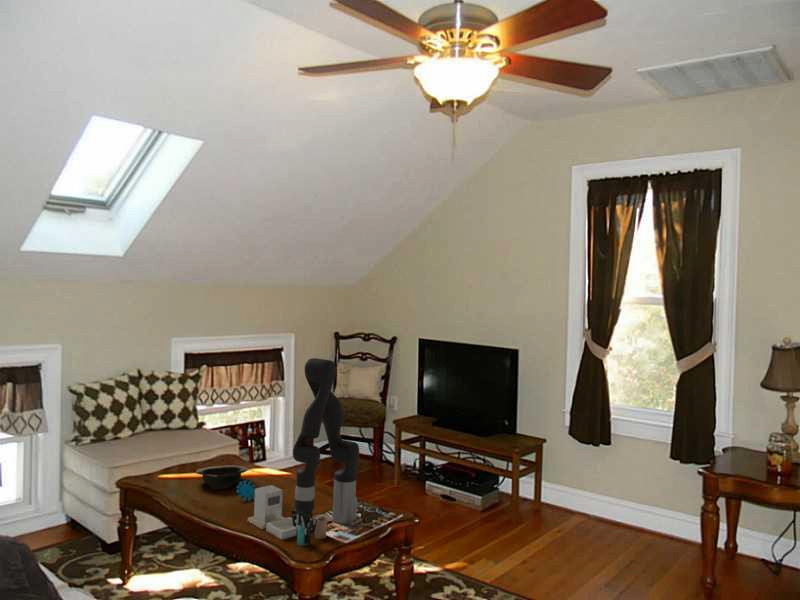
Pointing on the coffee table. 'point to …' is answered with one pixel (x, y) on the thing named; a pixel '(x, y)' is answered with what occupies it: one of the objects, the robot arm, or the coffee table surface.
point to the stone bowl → (222, 476)
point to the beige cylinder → (321, 527)
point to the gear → (246, 490)
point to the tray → (282, 528)
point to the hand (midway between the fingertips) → (303, 541)
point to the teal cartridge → (301, 535)
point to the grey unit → (267, 506)
